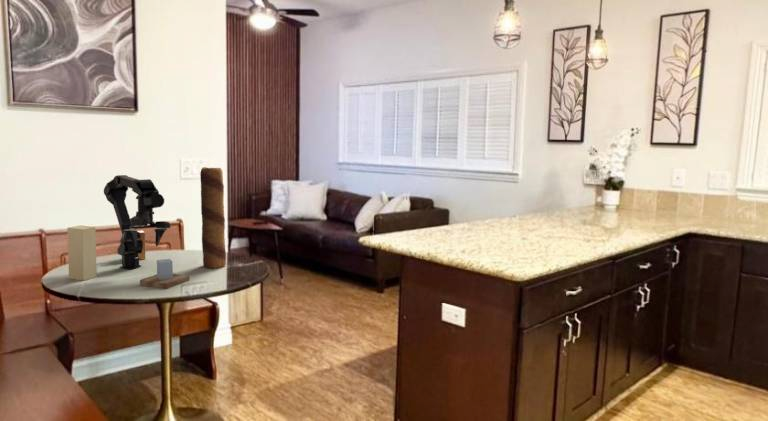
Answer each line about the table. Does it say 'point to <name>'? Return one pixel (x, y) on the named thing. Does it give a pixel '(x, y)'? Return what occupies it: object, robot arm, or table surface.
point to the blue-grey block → (164, 269)
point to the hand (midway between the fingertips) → (146, 246)
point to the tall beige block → (82, 252)
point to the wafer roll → (213, 218)
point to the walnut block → (164, 281)
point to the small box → (142, 255)
